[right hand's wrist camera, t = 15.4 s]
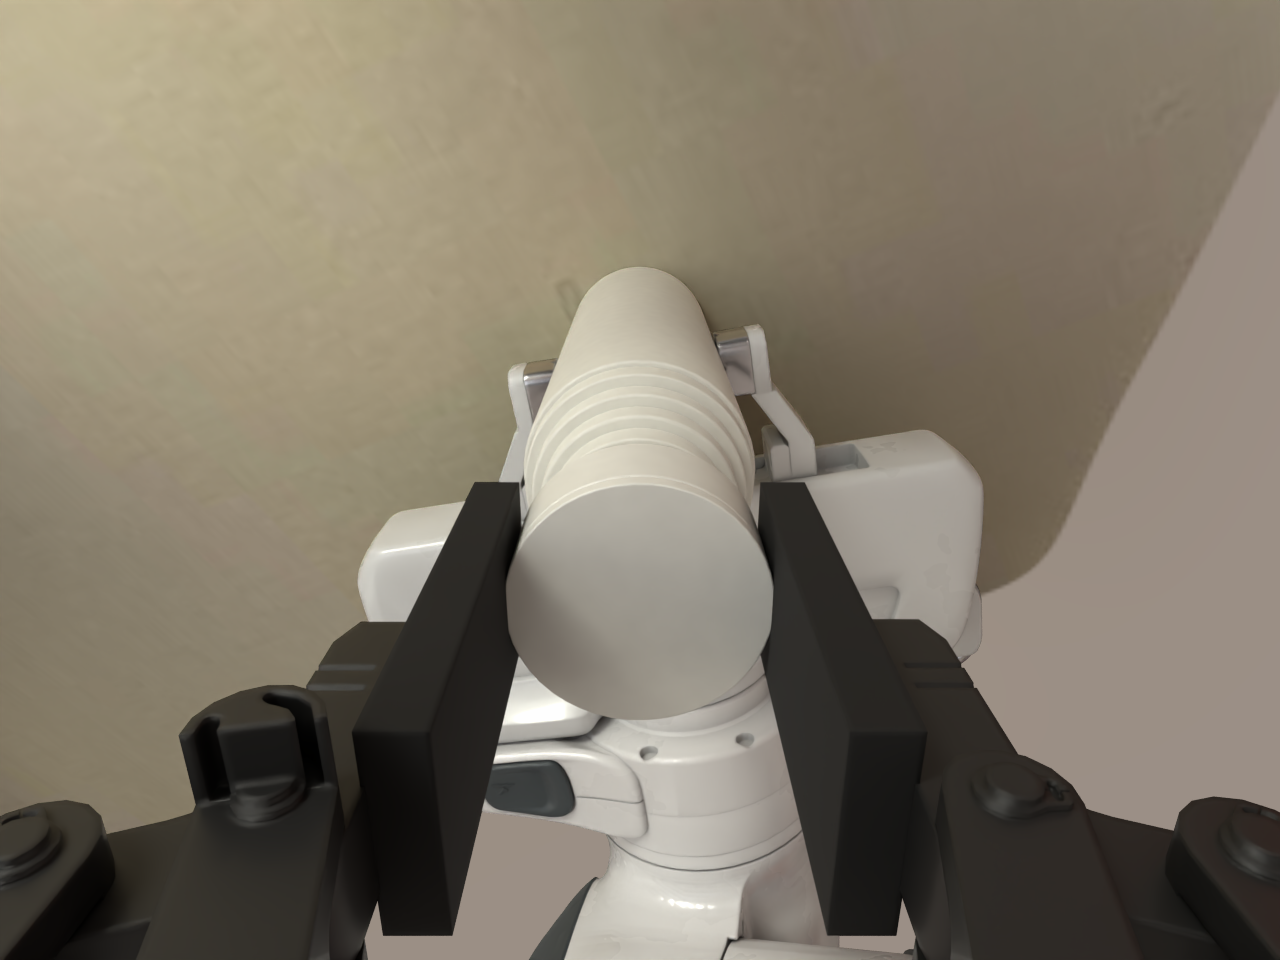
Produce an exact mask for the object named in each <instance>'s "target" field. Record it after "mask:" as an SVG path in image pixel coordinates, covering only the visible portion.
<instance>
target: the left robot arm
mask: <svg viewBox="0 0 1280 960" xmlns="http://www.w3.org/2000/svg"><path fill="white" fill-rule="evenodd" d="M713 337H714V344H715V346H716V349H717V351H718V354H719V356H720V359H721V362H722V364H723V367H724V369H725V372H726V375H727V377H728V380H729V382H730V385H731V387H732V390H733V393H734V395H735V396H741V395H748V394H751V396H752V397H753V398H754V400H755V401H756V402H757V403H758V405H759V406H760V407H761V408H762V410H763V411H764V412H765V413H766V415H767V416H768V417H769V418H770V420H771V421H772V422H773V424H771V425H764V427H763V428H762V429H761V432H762V441H763V450H764V454H762V455H755V478H754V490H753V497H752V502H751V506H750V510H751V511H752V514H753V517H754V520H755V522H756V525H757V528H758V514H759V496H760V482H805V484H806V486H807V488H808V490H809V492H810V494H811V496H812V498H813V500H814V502H815V504H816V506H817V508H818V510H819V512H820V514H821V516H822V518H823V520H824V522H825V524H826V526H827V528H828V530H829V532H830V534H831V536H832V538H833V540H834V542H835V544H836V547H837V549H838V551H839V553H840V555H841V557H842V559H843V561H844V563H845V565H846V567H847V569H848V571H849V573H850V575H851V577H852V579H853V581H854V583H855V585H856V587H857V589H858V591H859V593H860V595H861V597H862V599H863V601H864V603H865V605H866V607H867V609H868V611H869V613H870V615H871V617H872V619H919V620H921V621H922V622H923V623H925V624H926V625H927V626H929V627H930V628H932V629H933V630H934V631H936V632H937V633H938V634H940V635H941V636H942V637H944V638H945V639H946V640H947V641H948V643H949V644H950V646H951V648H952V649H953V651H954V652H955V654H956V656H957V657H958V659H959V660H960V662H961V663H963V662H964V661H965V660H966V659H968V657H970V656H971V655H972V654H974V653H975V652H976V651H977V650H978V648H979V646H980V643H981V639H982V605H981V595H980V591H979V588H978V586H977V584H976V579H977V573H978V566H979V558H980V550H981V540H982V527H983V509H984V491H983V484H982V481H981V478H980V476H979V475H978V473H977V471H976V470H975V468H974V467H973V466H972V465H971V463H970V462H969V461H968V460H967V459H966V458H965V457H964V456H963V455H962V454H961V453H960V452H959V451H958V450H957V449H955V448H954V447H953V446H952V445H950V444H949V443H948V442H946V441H945V440H944V439H942V438H941V437H940V436H938V435H937V434H936V433H934V432H932V431H929V430H914V431H908V432H901V433H895V434H889V435H882V436H876V437H870V438H863V439H857V440H851V441H844V442H838V443H831V444H825V445H819V446H815V443H814V438H813V437H812V435H811V433H810V432H809V430H808V428H807V427H806V425H805V423H804V421H803V420H802V418H801V417H800V416H799V414H798V413H797V412H796V411H795V409H794V408H793V407H792V406H791V404H790V403H789V402H788V400H787V399H786V398H785V397H784V395H783V394H782V393H781V392H780V390H779V389H778V388H777V386H776V385H775V384H774V383H773V381H772V380H771V376H770V367H769V358H768V350H767V342H766V338H765V334H764V330H763V329H762V327H761V326H760V325H759V324H756V325H750V326H744V327H738V328H732V329H727V330H721V331H716V332H713ZM557 361H558V359H557V358H555V359H548V360H542V361H535V362H528V363H527V362H526V363H521V364H516V365H512V367H511V369H510V370H509V372H508V386H509V392H510V396H511V400H512V405H513V409H514V413H515V418H516V422H517V426H518V427H517V429H516V431H515V434H514V437H513V440H512V443H511V446H510V449H509V452H508V455H507V458H506V461H505V464H504V467H503V470H502V473H501V476H500V479H499V482H519V488H520V506H521V523H522V525H523V522H524V519H525V516H526V514H527V512H528V510H529V506H528V503H527V497H526V491H525V480H524V456H525V449H526V445H527V441H528V437H529V434H530V431H531V429H532V426H533V423H534V421H535V418H536V416H537V413H538V410H539V408H540V405H541V403H542V400H543V397H544V395H545V392H546V390H547V387H548V384H549V382H550V379H551V377H552V374H553V371H554V369H555V366H556V364H557ZM464 503H465V501H462V502H456V503H450V504H443V505H437V506H430V507H424V508H417V509H411V510H405V511H401V512H398V513H396V514H394V515H393V516H392V517H391V518H390V519H389V520H388V521H387V522H386V524H385V525H384V526H383V528H382V529H381V530H380V532H379V533H378V534H377V536H376V537H375V538H374V540H373V542H372V543H371V545H370V547H369V548H368V550H367V552H366V554H365V556H364V558H363V560H362V563H361V565H360V568H359V572H358V589H359V593H360V597H361V600H362V604H363V607H364V610H365V613H366V616H367V618H368V621H369V622H406V620H407V618H408V616H409V614H410V612H411V610H412V608H413V606H414V604H415V602H416V600H417V598H418V596H419V594H420V592H421V590H422V588H423V586H424V584H425V582H426V580H427V578H428V576H429V574H430V572H431V570H432V568H433V566H434V564H435V562H436V560H437V558H438V555H439V553H440V551H441V549H442V547H443V545H444V543H445V541H446V539H447V537H448V535H449V533H450V531H451V529H452V527H453V525H454V523H455V521H456V519H457V517H458V515H459V513H460V511H461V509H462V507H463V505H464ZM482 812H486V813H494V814H503V815H511V816H519V817H527V818H534V819H541V820H547V821H553V822H558V823H563V824H569V825H573V826H577V827H582V828H586V829H590V830H593V831H597V832H601V833H604V834H606V836H607V838H608V840H609V845H610V858H609V863H608V869H607V872H606V874H605V875H604V876H603V877H602V878H600V879H599V878H597V877H595V878H593V879H592V880H591V881H590V882H589V883H587V884H586V885H585V886H584V887H583V888H582V889H581V890H580V891H579V893H578V894H577V895H576V896H575V897H574V898H573V899H572V901H571V902H570V903H569V904H568V906H567V907H566V909H565V910H564V911H563V913H562V914H561V915H560V916H559V918H558V919H557V920H556V922H555V923H554V924H553V926H552V927H551V928H550V930H549V931H548V932H547V934H546V935H545V936H544V938H543V939H542V940H541V942H540V943H539V945H538V946H537V948H536V949H535V951H534V952H533V954H532V956H531V957H530V959H529V960H912V957H913V951H914V949H909V950H906V951H905V952H904V953H903V954H899V953H889V952H879V951H869V950H859V949H849V948H839V936H827V933H826V929H825V925H824V920H823V916H822V912H821V908H820V904H819V899H818V895H817V891H816V887H815V883H814V878H813V874H812V870H811V866H810V861H809V857H808V853H807V849H806V845H805V840H804V836H803V832H802V828H801V824H800V819H799V815H798V811H797V807H796V803H795V798H794V794H793V790H792V786H791V781H790V777H789V773H788V769H787V765H786V760H785V756H784V752H783V748H782V744H781V739H780V735H779V731H778V727H777V723H776V718H775V714H774V710H773V706H772V701H771V697H770V693H769V689H768V685H767V680H766V676H765V672H764V668H763V664H762V659H761V655H760V656H759V658H758V660H757V661H756V663H755V664H754V665H753V667H752V668H751V669H750V671H749V672H748V673H747V674H746V675H745V676H744V677H743V678H742V679H741V680H740V681H739V682H738V683H737V684H736V685H735V686H734V687H733V688H732V689H730V690H729V691H728V692H726V693H725V694H724V695H722V696H721V697H719V698H717V699H716V700H714V701H712V702H711V703H709V704H707V705H705V706H703V707H700V708H698V709H696V710H694V711H690V712H687V713H684V714H681V715H678V716H673V717H668V718H663V719H654V720H624V719H617V718H610V717H606V716H602V715H598V714H594V713H591V712H589V711H586V710H583V709H580V708H578V707H576V706H574V705H572V704H570V703H568V702H566V701H565V700H563V699H561V698H560V697H558V696H557V695H555V694H554V693H552V692H551V691H550V690H549V689H547V688H546V687H545V686H544V685H543V684H542V683H540V682H539V681H538V680H537V679H536V677H535V676H534V675H533V674H532V673H531V672H530V671H529V670H528V668H527V667H526V665H525V664H524V663H523V661H522V660H521V658H520V657H518V661H517V666H516V670H515V674H514V678H513V682H512V687H511V691H510V695H509V699H508V703H507V708H506V712H505V716H504V720H503V725H502V729H501V733H500V737H499V741H498V746H497V750H496V754H495V758H494V762H493V767H492V771H491V775H490V779H489V783H488V788H487V792H486V796H485V800H484V805H483V809H482Z"/></svg>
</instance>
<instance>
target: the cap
mask: <svg viewBox="0 0 1280 960" xmlns="http://www.w3.org/2000/svg"><path fill="white" fill-rule="evenodd" d="M773 589H774V583H773V578H772V573H771V570H770V567H769V564H768V560H767V557H766V554H765V551H764V547H763V544H762V541H761V538H760V535H759V531H758V528H757V525H756V522H755V520H754V517H753V514H752V511H751V510H750V508H749V506H748V504H747V502H746V500H745V498H744V497H743V496H742V494H741V493H740V492H739V490H738V489H737V488H736V486H735V485H734V484H733V483H732V482H731V481H730V480H729V479H728V478H727V477H726V476H725V475H724V474H723V473H721V472H720V471H719V470H718V469H716V468H715V467H714V466H712V465H711V464H709V463H707V462H706V461H704V460H702V459H700V458H699V457H697V456H694V455H692V454H689V453H687V452H685V451H682V450H678V449H675V448H671V447H668V446H661V445H654V444H625V445H617V446H612V447H608V448H604V449H600V450H597V451H595V452H592V453H589V454H587V455H585V456H583V457H581V458H579V459H577V460H575V461H573V462H571V463H570V464H568V465H567V466H566V467H564V468H563V469H561V470H560V471H559V472H557V473H556V474H555V475H554V476H553V477H552V478H551V479H550V480H549V481H548V482H547V483H546V484H545V485H544V486H543V488H542V489H541V490H540V491H539V493H538V494H537V495H536V497H535V499H534V500H533V502H532V504H531V505H530V507H529V510H528V512H527V514H526V516H525V519H524V522H523V525H522V528H521V531H520V535H519V538H518V541H517V544H516V548H515V551H514V554H513V557H512V561H511V564H510V567H509V571H508V575H507V578H506V600H507V615H508V629H509V635H510V637H511V640H512V643H513V645H514V647H515V649H516V651H517V653H518V655H519V657H520V658H521V660H522V661H523V663H524V664H525V665H526V667H527V668H528V670H529V671H530V672H531V673H532V674H533V675H534V676H535V677H536V679H537V680H538V681H539V682H540V683H542V684H543V685H544V686H545V687H546V688H547V689H549V690H550V691H551V692H552V693H554V694H555V695H557V696H558V697H560V698H561V699H563V700H565V701H566V702H568V703H570V704H572V705H574V706H576V707H578V708H580V709H583V710H586V711H589V712H591V713H594V714H598V715H602V716H606V717H610V718H617V719H624V720H654V719H663V718H668V717H673V716H678V715H681V714H684V713H687V712H690V711H694V710H696V709H698V708H700V707H703V706H705V705H707V704H709V703H711V702H712V701H714V700H716V699H717V698H719V697H721V696H722V695H724V694H725V693H726V692H728V691H729V690H730V689H732V688H733V687H734V686H735V685H736V684H737V683H738V682H739V681H740V680H741V679H742V678H743V677H744V676H745V675H746V674H747V673H748V672H749V671H750V669H751V668H752V667H753V665H754V664H755V663H756V661H757V660H758V658H759V656H760V654H761V653H762V651H763V649H764V647H765V645H766V642H767V640H768V638H769V635H770V632H771V621H772V606H773Z"/></svg>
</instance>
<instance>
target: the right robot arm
mask: <svg viewBox="0 0 1280 960" xmlns="http://www.w3.org/2000/svg"><path fill="white" fill-rule="evenodd" d="M521 528H522V523H521V506H520V488H519V482H475V483H474V485H473V487H472V489H471V491H470V493H469V495H468V497H467V499H466V501H465V503H464V505H463V507H462V509H461V511H460V513H459V515H458V517H457V519H456V521H455V523H454V525H453V527H452V529H451V531H450V533H449V535H448V537H447V539H446V541H445V543H444V545H443V547H442V549H441V551H440V553H439V555H438V558H437V560H436V562H435V564H434V566H433V568H432V570H431V572H430V574H429V576H428V578H427V580H426V582H425V584H424V586H423V588H422V590H421V592H420V594H419V596H418V598H417V600H416V602H415V604H414V606H413V608H412V610H411V612H410V614H409V616H408V618H407V620H406V622H360V623H359V624H357V625H356V626H355V627H353V628H352V629H351V630H349V631H348V632H346V633H345V634H344V635H342V636H341V637H340V638H338V639H337V640H336V641H334V642H333V644H332V645H331V647H330V649H329V650H328V652H327V653H326V655H325V657H324V658H323V660H322V661H321V663H320V665H319V670H318V671H315V673H314V674H313V676H312V678H311V679H310V681H309V682H308V684H307V686H306V687H307V688H306V689H305V688H301V687H298V686H294V685H267V686H263V687H258V688H253V689H249V690H244V691H240V692H237V693H235V694H233V695H230V696H228V697H226V698H223V699H221V700H219V701H216V702H214V703H212V704H211V705H210V706H208V707H207V708H205V709H204V710H202V711H201V712H200V713H198V714H197V715H195V716H194V717H193V718H192V719H191V720H190V721H189V722H188V724H187V725H186V726H185V728H184V729H183V730H182V732H181V733H180V734H179V739H180V743H181V747H182V751H183V755H184V759H185V763H186V767H187V771H188V775H189V779H190V783H191V787H192V791H193V795H194V799H195V803H196V806H195V808H194V811H193V813H190V814H187V815H184V816H180V817H177V818H174V819H170V820H167V821H163V822H158V823H154V824H149V825H145V826H141V827H136V828H132V829H128V830H123V831H119V832H114V833H110V834H106V831H105V827H104V824H103V821H102V818H101V815H99V814H98V813H97V812H96V811H95V810H94V809H93V808H92V807H91V806H90V805H89V804H83V803H78V802H73V801H68V800H64V801H55V802H46V803H37V804H34V805H31V806H28V807H25V808H22V809H18V810H16V811H12V812H9V813H6V814H4V815H2V816H0V960H368V958H367V951H366V945H365V939H364V938H365V935H366V932H367V929H368V927H369V924H370V921H371V918H372V915H373V912H374V909H375V906H376V904H377V901H378V906H379V912H380V919H381V925H382V932H383V936H452V935H453V931H454V926H455V922H456V918H457V914H458V910H459V906H460V901H461V897H462V893H463V889H464V884H465V880H466V876H467V872H468V868H469V863H470V859H471V855H472V851H473V847H474V842H475V838H476V834H477V830H478V826H479V821H480V817H481V813H482V809H483V805H484V800H485V796H486V792H487V788H488V783H489V779H490V775H491V771H492V767H493V762H494V758H495V754H496V750H497V746H498V741H499V737H500V733H501V729H502V725H503V720H504V716H505V712H506V708H507V703H508V699H509V695H510V691H511V687H512V682H513V678H514V674H515V670H516V666H517V661H518V657H519V655H518V653H517V651H516V649H515V647H514V645H513V643H512V640H511V637H510V635H509V629H508V615H507V600H506V578H507V575H508V571H509V567H510V564H511V561H512V557H513V554H514V551H515V548H516V544H517V541H518V538H519V535H520V531H521ZM758 531H759V535H760V538H761V541H762V544H763V547H764V551H765V554H766V557H767V560H768V564H769V567H770V570H771V573H772V578H773V583H774V589H773V606H772V621H771V632H770V635H769V638H768V640H767V642H766V645H765V647H764V649H763V651H762V653H761V654H760V655H761V659H762V664H763V668H764V672H765V676H766V680H767V685H768V689H769V693H770V697H771V701H772V706H773V710H774V714H775V718H776V723H777V727H778V731H779V735H780V739H781V744H782V748H783V752H784V756H785V760H786V765H787V769H788V773H789V777H790V781H791V786H792V790H793V794H794V798H795V803H796V807H797V811H798V815H799V819H800V824H801V828H802V832H803V836H804V840H805V845H806V849H807V853H808V857H809V861H810V866H811V870H812V874H813V878H814V883H815V887H816V891H817V895H818V899H819V904H820V908H821V912H822V916H823V920H824V925H825V929H826V933H827V936H896V935H897V928H898V922H899V915H900V909H901V902H902V898H903V901H904V904H905V907H906V910H907V913H908V915H909V918H910V921H911V924H912V927H913V930H914V932H915V935H916V939H915V945H914V951H913V957H912V960H1280V812H1278V811H1276V810H1273V809H1270V808H1267V807H1264V806H1261V805H1258V804H1255V803H1251V802H1248V801H1245V800H1240V799H1231V798H1222V797H1209V798H1204V799H1199V800H1194V801H1191V802H1190V803H1189V804H1188V805H1187V806H1186V807H1185V808H1183V809H1182V810H1181V811H1180V812H1179V815H1178V819H1177V822H1176V825H1175V828H1174V831H1172V830H1168V829H1163V828H1159V827H1155V826H1150V825H1146V824H1141V823H1137V822H1133V821H1128V820H1124V819H1119V818H1115V817H1111V816H1108V815H1104V814H1101V813H1098V812H1094V811H1091V810H1088V809H1086V807H1085V804H1084V803H1083V801H1082V800H1081V798H1080V796H1079V795H1078V793H1077V792H1076V790H1075V789H1074V787H1073V786H1072V785H1071V784H1070V783H1069V782H1067V781H1066V780H1065V779H1064V778H1063V777H1061V776H1060V775H1059V774H1058V773H1056V772H1055V771H1054V770H1053V769H1051V768H1049V767H1047V766H1045V765H1043V764H1041V763H1039V762H1037V761H1035V760H1032V759H1030V758H1028V757H1026V756H1022V755H1018V754H1017V752H1016V750H1015V749H1014V747H1013V745H1012V744H1011V742H1010V741H1009V739H1008V737H1007V736H1006V734H1005V733H1004V731H1003V729H1002V728H1001V726H1000V725H999V723H998V721H997V720H996V718H995V717H994V715H993V713H992V712H991V710H990V709H989V707H988V705H987V704H986V702H985V701H984V699H983V697H982V696H981V694H980V693H979V691H978V689H977V688H974V686H973V681H972V680H971V678H970V676H969V675H968V673H967V672H966V670H965V669H964V668H961V662H960V660H959V659H958V657H957V656H956V654H955V652H954V651H953V649H952V648H951V646H950V644H949V643H948V641H947V640H946V639H945V638H944V637H942V636H941V635H940V634H938V633H937V632H936V631H934V630H933V629H932V628H930V627H929V626H927V625H926V624H925V623H923V622H922V621H921V620H919V619H872V617H871V615H870V613H869V611H868V609H867V607H866V605H865V603H864V601H863V599H862V597H861V595H860V593H859V591H858V589H857V587H856V585H855V583H854V581H853V579H852V577H851V575H850V573H849V571H848V569H847V567H846V565H845V563H844V561H843V559H842V557H841V555H840V553H839V551H838V549H837V547H836V544H835V542H834V540H833V538H832V536H831V534H830V532H829V530H828V528H827V526H826V524H825V522H824V520H823V518H822V516H821V514H820V512H819V510H818V508H817V506H816V504H815V502H814V500H813V498H812V496H811V494H810V492H809V490H808V488H807V486H806V484H805V482H760V496H759V514H758Z"/></svg>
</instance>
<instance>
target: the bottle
mask: <svg viewBox="0 0 1280 960" xmlns="http://www.w3.org/2000/svg"><path fill="white" fill-rule="evenodd" d="M625 444H654V445H661V446H668V447H671V448H675V449H678V450H682V451H685V452H687V453H689V454H692V455H694V456H697V457H699V458H700V459H702V460H704V461H706V462H707V463H709V464H711V465H712V466H714V467H715V468H716V469H718V470H719V471H720V472H721V473H723V474H724V475H725V476H726V477H727V478H728V479H729V480H730V481H731V482H732V483H733V484H734V485H735V486H736V488H737V489H738V490H739V492H740V493H741V494H742V496H743V497H744V498H745V500H746V502H747V504H748V506H749V508H750V506H751V502H752V497H753V490H754V478H755V456H754V450H753V445H752V440H751V438H750V435H749V432H748V429H747V426H746V424H745V421H744V419H743V416H742V413H741V411H740V408H739V406H738V403H737V400H736V398H735V395H734V393H733V390H732V387H731V385H730V382H729V380H728V377H727V375H726V372H725V369H724V367H723V364H722V362H721V359H720V356H719V354H718V351H717V349H716V346H715V344H714V341H713V338H712V336H711V333H710V331H709V328H708V325H707V323H706V320H705V318H704V315H703V312H702V310H701V307H700V305H699V303H698V301H697V299H696V298H695V296H694V295H693V293H692V292H691V291H690V290H689V289H688V288H687V286H686V285H685V284H683V283H682V282H681V281H680V280H679V279H677V278H675V277H674V276H672V275H671V274H668V273H666V272H664V271H661V270H658V269H655V268H649V267H629V268H624V269H620V270H617V271H615V272H612V273H610V274H608V275H607V276H605V277H603V278H602V279H600V280H599V281H598V282H596V283H595V284H594V285H593V286H592V287H591V288H590V289H589V290H588V292H587V293H586V294H585V296H584V297H583V299H582V301H581V302H580V304H579V307H578V309H577V312H576V314H575V317H574V320H573V322H572V325H571V327H570V330H569V333H568V335H567V338H566V340H565V343H564V346H563V348H562V351H561V353H560V356H559V358H558V361H557V364H556V366H555V369H554V371H553V374H552V377H551V379H550V382H549V384H548V387H547V390H546V392H545V395H544V397H543V400H542V403H541V405H540V408H539V410H538V413H537V416H536V418H535V421H534V423H533V426H532V429H531V431H530V434H529V437H528V441H527V445H526V449H525V456H524V480H525V491H526V497H527V503H528V506H529V507H530V505H531V504H532V502H533V500H534V499H535V497H536V495H537V494H538V493H539V491H540V490H541V489H542V488H543V486H544V485H545V484H546V483H547V482H548V481H549V480H550V479H551V478H552V477H553V476H554V475H555V474H556V473H557V472H559V471H560V470H561V469H563V468H564V467H566V466H567V465H568V464H570V463H571V462H573V461H575V460H577V459H579V458H581V457H583V456H585V455H587V454H589V453H592V452H595V451H597V450H600V449H604V448H608V447H612V446H617V445H625Z"/></svg>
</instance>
